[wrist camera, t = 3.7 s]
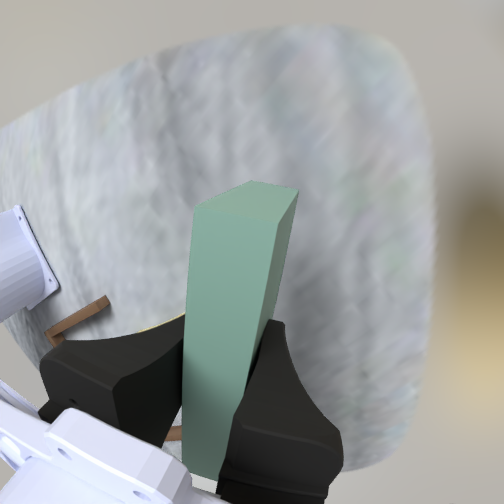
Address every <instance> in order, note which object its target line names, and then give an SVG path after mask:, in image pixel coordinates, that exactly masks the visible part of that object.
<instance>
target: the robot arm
mask: <svg viewBox="0 0 504 504" xmlns="http://www.w3.org/2000/svg"><path fill="white" fill-rule="evenodd" d="M58 287H59V285H58V282H57V280H56V279H55V277H54V275H53V273H52V271H51V269H50V268H49V266H48V264H47V262H46V260H45V258H44V256H43V254H42V252H41V250H40V248H39V246H38V244H37V242H36V240H35V238H34V235H33V233H32V231H31V229H30V227H29V225H28V222H27V220H26V218H25V216H24V213H23V211H22V208H21V206H20V205H15V207H14V208H13V209H11V210H8V211H5V212H2V213H0V323H1V322H3V321H4V320H6V319H7V318H9V317H10V316H12V315H13V314H15V313H16V312H18V311H19V310H21V309H22V308H24V307H26V308H27V309H28V310H31V309H32V308H34V307H35V306H36V305H37V304H39V303H40V302H41V301H43V300H44V299H45V298H46V297H48V296H49V295H50V294H51V293H53V292H54V291H55V290H57V289H58ZM184 329H185V314H184V315H182V316H180V317H178V318H176V319H173V320H171V321H169V322H166V323H164V324H162V325H159V326H157V327H154V328H151V329H148V330H145V331H142V332H139V333H135V334H131V335H126V336H121V337H116V338H109V339H100V340H63V341H62V342H61V343H59V344H58V345H57V346H56V347H55V348H53V349H52V350H51V351H50V352H49V353H47V354H46V355H45V356H44V357H43V358H42V359H41V361H40V367H39V368H40V373H41V377H42V380H43V383H44V386H45V388H46V391H47V394H48V396H49V401H48V402H47V403H46V404H45V405H44V406H43V407H42V408H41V409H39V408H37V407H36V406H35V405H33V404H32V403H30V402H29V401H28V400H26V399H25V398H24V397H22V396H21V395H20V394H19V393H17V392H16V391H15V390H13V389H12V388H11V387H10V386H8V385H7V384H6V383H5V382H4V381H2V380H1V379H0V457H1V458H2V459H3V460H4V461H5V462H6V463H7V464H8V465H9V466H10V467H12V468H13V469H14V470H15V471H16V473H15V474H14V476H13V477H12V478H11V479H10V480H9V481H8V482H7V484H6V485H5V486H4V487H3V488H2V490H1V491H0V504H324V500H325V499H326V498H327V496H328V489H329V485H330V484H331V483H332V481H333V480H334V479H335V478H336V476H337V475H338V474H339V473H340V471H341V469H342V467H343V461H344V455H343V446H342V440H341V435H340V431H339V430H338V429H337V428H336V427H335V426H334V425H333V424H332V423H331V422H330V421H329V420H328V419H327V418H326V417H325V416H324V415H323V414H322V413H321V412H320V410H319V409H318V408H317V407H316V405H315V404H314V403H313V401H312V400H311V398H310V397H309V395H308V394H307V392H306V391H305V389H304V387H303V385H302V384H301V382H300V380H299V378H298V375H297V373H296V371H295V368H294V366H293V363H292V360H291V357H290V354H289V350H288V346H287V342H286V336H285V324H284V323H283V322H280V321H276V320H272V319H269V320H268V322H267V324H266V326H265V329H264V332H263V337H262V342H261V346H260V351H259V355H258V359H257V364H256V367H255V370H254V372H253V375H252V377H251V379H250V382H249V384H248V386H247V389H246V391H245V393H244V395H243V397H242V400H241V402H240V404H239V406H238V408H237V409H236V411H235V413H234V415H233V419H232V425H231V430H230V435H229V440H228V444H227V449H226V454H225V459H224V461H223V464H222V466H221V469H220V472H219V475H218V477H219V478H218V483H217V488H216V493H215V494H214V493H211V492H208V491H204V490H201V489H198V488H195V487H192V477H191V475H190V473H189V471H188V469H187V467H186V465H184V464H183V463H182V462H181V461H180V460H178V459H177V458H176V457H175V456H174V455H172V454H170V453H168V452H166V451H164V450H162V449H161V448H162V445H163V443H164V441H165V439H166V437H167V434H168V432H169V430H170V428H171V426H172V424H173V421H174V419H175V417H176V415H177V413H178V411H179V409H180V407H181V405H182V376H183V350H184Z"/></svg>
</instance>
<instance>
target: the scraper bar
mask: <svg viewBox="0 0 504 504" xmlns="http://www.w3.org/2000/svg"><path fill="white" fill-rule="evenodd" d="M298 193H299V190H297V189H293V188H288V187H283V186H278V185H273V184H268V183H263V182H257V181H252V180H251V181H249V182H247V183H245V184H242V185H240V186H238V187H236V188H233V189H231V190H229V191H227V192H224V193H222V194H220V195H218V196H216V197H214V198H211V199H209V200H207V201H205V202H203V203H201V204H198V205H196V206H195V208H194V217H193V227H192V237H191V247H190V258H189V270H188V283H187V297H186V312H185V329H184V350H183V376H182V463H183V464H184V465H186V467H187V469H188V471H189V472H190V473H193V474H196V475H199V476H202V477H205V478H208V479H211V480H214V481H218V478H219V477H218V475H219V472H220V469H221V466H222V464H223V461H224V459H225V454H226V449H227V444H228V440H229V435H230V430H231V425H232V419H233V415H234V413H235V411H236V409H237V408H238V406H239V404H240V402H241V400H242V397H243V395H244V393H245V391H246V389H247V386H248V384H249V382H250V379H251V377H252V375H253V372H254V370H255V367H256V364H257V359H258V355H259V351H260V346H261V342H262V337H263V332H264V329H265V326H266V324H267V322H268V320H269V319H272V317H273V313H274V308H275V304H276V299H277V295H278V290H279V286H280V281H281V276H282V272H283V267H284V262H285V258H286V253H287V248H288V243H289V238H290V233H291V228H292V223H293V219H294V213H295V208H296V203H297V198H298Z"/></svg>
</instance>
